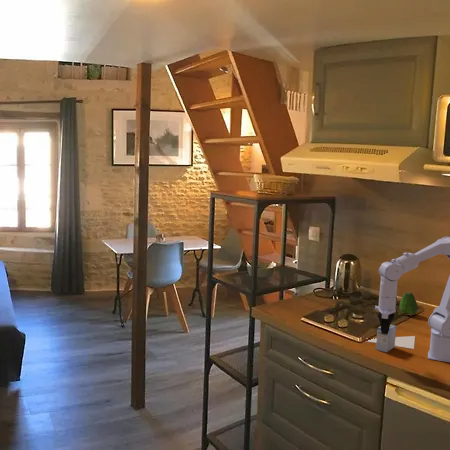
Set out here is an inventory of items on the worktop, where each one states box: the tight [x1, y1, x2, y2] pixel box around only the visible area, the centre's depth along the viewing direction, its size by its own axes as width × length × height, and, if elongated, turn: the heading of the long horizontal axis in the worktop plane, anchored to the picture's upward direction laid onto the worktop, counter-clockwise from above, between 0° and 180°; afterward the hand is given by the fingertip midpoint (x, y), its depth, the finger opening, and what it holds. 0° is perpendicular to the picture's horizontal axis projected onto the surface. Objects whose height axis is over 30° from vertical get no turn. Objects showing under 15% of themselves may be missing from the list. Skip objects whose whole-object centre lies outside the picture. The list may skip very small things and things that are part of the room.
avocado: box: [398, 291, 418, 316], centre depth 235 cm, size 8×8×12 cm
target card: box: [366, 335, 416, 350], centre depth 205 cm, size 20×20×1 cm
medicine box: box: [375, 324, 397, 353], centre depth 190 cm, size 8×4×9 cm, turn 141°
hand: (384, 333), depth 180 cm, fingers closed
